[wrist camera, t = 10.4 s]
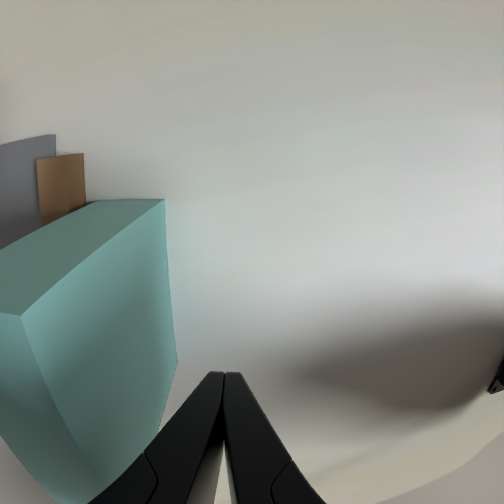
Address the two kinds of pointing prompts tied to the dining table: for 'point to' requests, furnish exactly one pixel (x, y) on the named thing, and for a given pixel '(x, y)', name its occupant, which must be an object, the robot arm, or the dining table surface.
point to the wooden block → (60, 186)
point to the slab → (86, 344)
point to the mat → (21, 186)
